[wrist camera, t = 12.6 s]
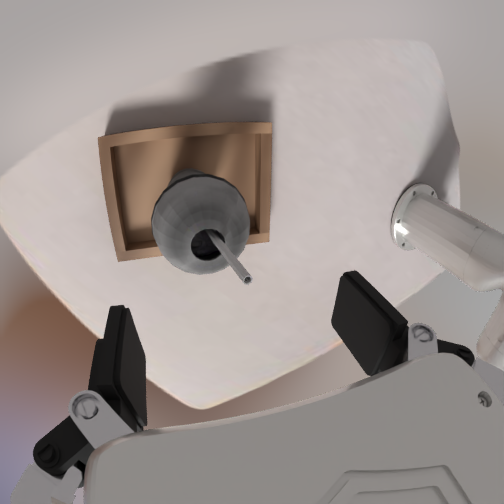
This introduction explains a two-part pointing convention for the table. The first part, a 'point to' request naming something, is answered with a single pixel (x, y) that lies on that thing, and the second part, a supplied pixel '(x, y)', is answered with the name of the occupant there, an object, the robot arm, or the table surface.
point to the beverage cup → (201, 224)
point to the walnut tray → (172, 161)
